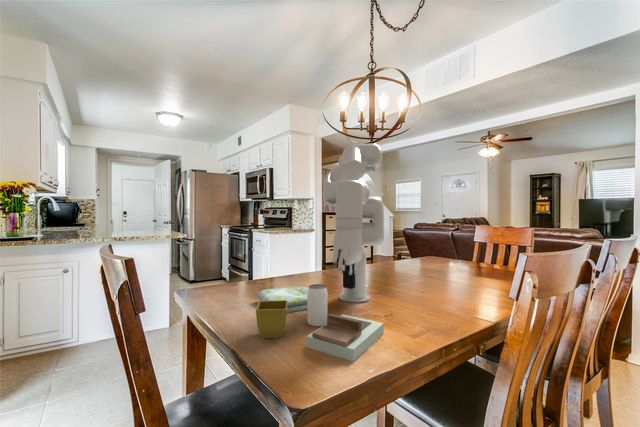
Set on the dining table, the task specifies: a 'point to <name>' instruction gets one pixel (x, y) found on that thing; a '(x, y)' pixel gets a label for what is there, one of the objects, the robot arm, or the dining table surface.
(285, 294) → the towel
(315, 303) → the can
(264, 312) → the flower pot
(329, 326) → the lid
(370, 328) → the well board
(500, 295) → the dining table surface
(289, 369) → the dining table surface
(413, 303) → the dining table surface
